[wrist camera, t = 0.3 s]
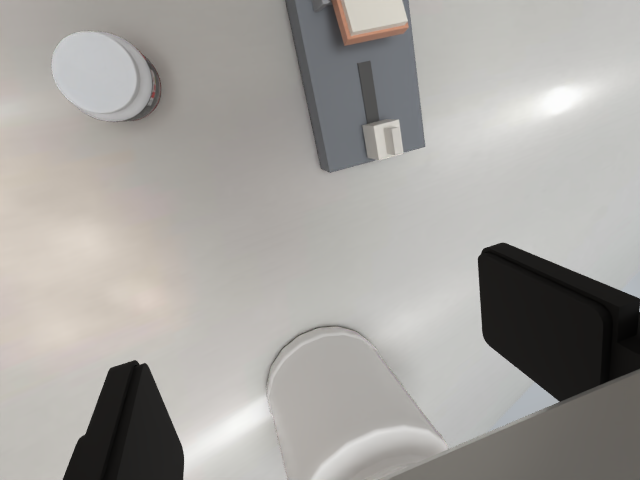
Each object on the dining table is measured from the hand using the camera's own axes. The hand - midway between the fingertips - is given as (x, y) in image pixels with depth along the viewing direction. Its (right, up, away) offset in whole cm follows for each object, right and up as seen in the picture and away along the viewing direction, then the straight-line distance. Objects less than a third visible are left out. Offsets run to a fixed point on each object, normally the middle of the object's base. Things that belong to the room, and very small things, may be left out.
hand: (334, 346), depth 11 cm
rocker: (+3, +23, +20) cm, 31 cm away
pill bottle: (-17, +16, +23) cm, 32 cm away
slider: (+5, +12, +27) cm, 30 cm away
